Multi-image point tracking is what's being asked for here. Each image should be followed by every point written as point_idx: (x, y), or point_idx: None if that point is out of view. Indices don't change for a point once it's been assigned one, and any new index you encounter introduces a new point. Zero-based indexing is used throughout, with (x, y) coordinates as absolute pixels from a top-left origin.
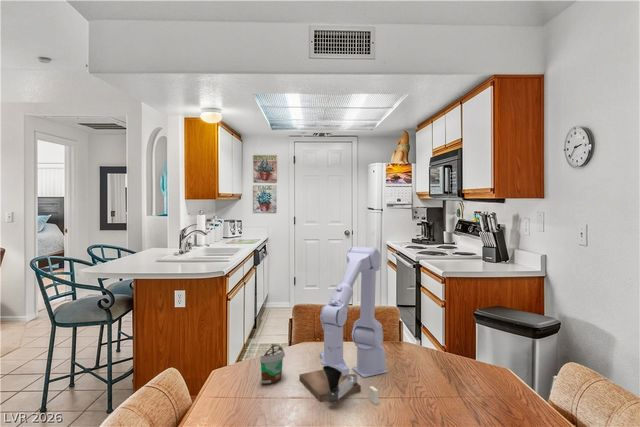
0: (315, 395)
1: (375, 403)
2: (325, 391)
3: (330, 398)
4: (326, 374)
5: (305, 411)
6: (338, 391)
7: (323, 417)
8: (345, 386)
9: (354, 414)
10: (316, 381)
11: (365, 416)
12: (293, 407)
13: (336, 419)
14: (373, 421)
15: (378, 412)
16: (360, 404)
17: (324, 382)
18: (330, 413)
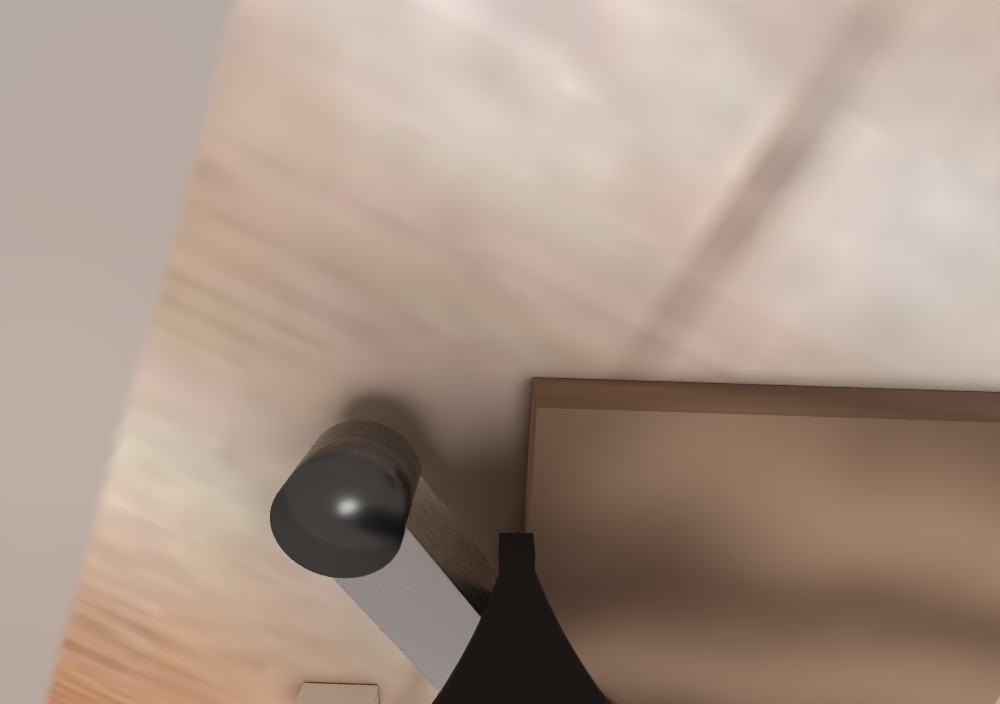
0: (649, 386)
1: (302, 693)
2: (582, 487)
3: (315, 448)
4: (575, 693)
5: (424, 152)
6: (350, 582)
7: (245, 270)
8: (432, 682)
9: (214, 515)
10: (842, 509)
11: (163, 563)
12: (571, 56)
13: (177, 358)
14: (81, 573)
15: (193, 651)
16: (343, 615)
17: (762, 562)
18: (294, 360)
